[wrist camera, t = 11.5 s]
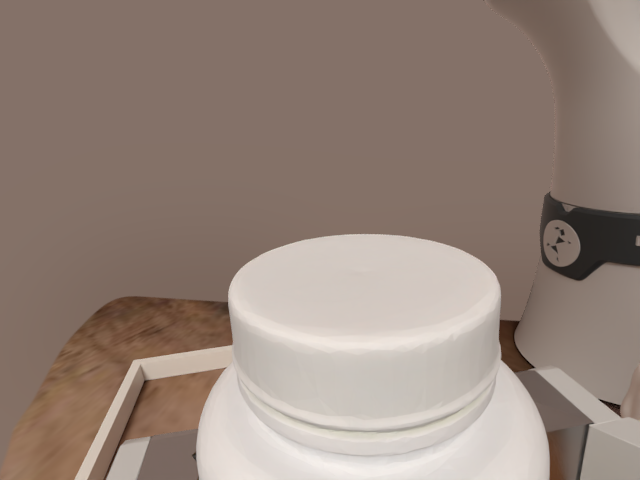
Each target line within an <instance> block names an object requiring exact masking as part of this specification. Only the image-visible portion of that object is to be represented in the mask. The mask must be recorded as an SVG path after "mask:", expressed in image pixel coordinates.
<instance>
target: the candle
mask: <svg viewBox="0 0 640 480" xmlns="http://www.w3.org/2000/svg"><path fill="white" fill-rule="evenodd" d="M620 414H621V418H627V417H630V418H633V419H635V420H638V421H640V364H639V365H638V366H637V367H636V369H635V371H634V373H633V376H632V380H631V384H630V388H629V390H628V392H627V394H626V396H625V397H624V399H623V401H622V404H621V407H620Z"/></svg>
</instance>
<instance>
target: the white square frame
mask: <svg viewBox="0 0 640 480" xmlns="http://www.w3.org/2000/svg"><path fill="white" fill-rule="evenodd" d="M232 361H233V359H232V345H231V346H224V347H218V348H211V349H205V350H198V351H191V352H185V353H178V354H172V355H165V356H159V357H152V358H146V359H139V360H134V361H133V363H132V365H131V367H130V369H129V371H128V373H127V375H126V377H125V379H124V381H123V383H122V385H121V387H120V389H119V391H118V393H117V395H116V397H115V399H114V401H113V403H112V405H111V407H110V409H109V411H108V413H107V415H106V417H105V419H104V421H103V423H102V425H101V427H100V429H99V431H98V433H97V435H96V437H95V439H94V441H93V443H92V445H91V447H90V449H89V452H88V454H87V456H86V458H85V460H84V462H83V464H82V466H81V468H80V470H79V472H78V474H77V476H76V478H75V480H104V477H105V475H106V472H107V470H108V468H109V465H110V463H111V460H112V458H113V455H114V453H115V451H116V448H117V446H118V443H119V441H120V439H121V436H122V434H123V431H124V429H125V427H126V424H127V422H128V419H129V417H130V415H131V412H132V410H133V407H134V405H135V402H136V400H137V398H138V395H139V393H140V390H141V388H142V386H143V383H144V381H146V380H152V379H158V378H164V377H171V376H177V375H183V374H189V373H196V372H202V371H208V370H214V369H221V368H227V367H228V366H229V365H230V364H231V362H232Z"/></svg>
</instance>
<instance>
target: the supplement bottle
mask: <svg viewBox="0 0 640 480" xmlns="http://www.w3.org/2000/svg"><path fill="white" fill-rule="evenodd" d="M228 305H229V312H230V320H231V327H232V336H233V345H232V359H233V361H232V362H231V364H230V365H229V366H228V367H227V368H226V369H225V370H224V371H223V373H222V374H221V376H220V377H219V379H218V380H217V382H216V383H215V385H214V386H213V388H212V390H211V392H210V394H209V396H208V399H207V401H206V403H205V405H204V408H203V412H202V415H201V418H200V423H199V428H198V435H197V443H196V460H197V468H198V475H199V480H549V478H550V455H549V443H548V439H547V435H546V431H545V427H544V424H543V421H542V419H541V416H540V414H539V412H538V409H537V407H536V405H535V403H534V401H533V400H532V398H531V396H530V394H529V393H528V391H527V390H526V388H525V387H524V385H523V384H522V382H521V381H520V380H519V378H518V377H517V376H516V375H515V374H514V373H513V372H512V370H511V369H510V368H509V367H508V366H507V365H506V364H505V363H504V362H503V361H502V360H501V346H500V343H499V321H500V308H501V289H500V285H499V282H498V280H497V277H496V275H495V274H494V273H493V272H492V270H491V269H490V268H489V267H488V266H487V265H486V264H485V263H483V262H482V261H480V260H479V259H477V258H475V257H474V256H472V255H470V254H468V253H466V252H464V251H462V250H460V249H457V248H454V247H452V246H448V245H444V244H442V243H438V242H434V241H429V240H424V239H418V238H413V237H406V236H397V235H382V234H381V235H379V234H352V235H338V236H329V237H320V238H315V239H309V240H303V241H299V242H295V243H292V244H288V245H285V246H282V247H279V248H276V249H273V250H270V251H268V252H266V253H264V254H262V255H260V256H258V257H257V258H255V259H253V260H251V261H250V262H249V263H247V264H246V265H244V267H242V268H241V269H240V270H239V271H238V273H237V274H236V275H235V277H234V278H233V280H232V282H231V285H230V287H229V293H228Z"/></svg>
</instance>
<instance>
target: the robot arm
mask: <svg viewBox="0 0 640 480" xmlns="http://www.w3.org/2000/svg"><path fill="white" fill-rule="evenodd" d="M484 1H485V3H486V4H487V5H488V6H489V7H490V8H491V9H492V10H493V11H494V12H495V13H497V14H498V15H500V16H502V17H503V18H505V19H507V20H508V21H509V22H511V23H512V24H513V25H515V26H516V27H517V28H518V29H519V30H520V31H522V32H523V34H525V36H526V37H527V38H528V39H529V41H530V42H531V43H532V44H533V45H534V47H535V48H536V50H537V51H538V53H539V55H540V56H541V58H542V60H543V62H544V65H545V67H546V69H547V72H548V74H549V77H550V81H551V85H552V89H553V95H554V103H555V146H554V161H553V173H552V182H551V191H550V192H549V193H547V194H546V195H545V197H544V204H543V210H542V216H541V225H540V242H541V243H540V244H541V256H540V260H539V263H538V267H537V271H536V275H535V279H534V282H533V286H532V290H531V293H530V296H529V299H528V302H527V305H526V308H525V310H524V313H523V316H522V318H521V320H520V322H519V324H518V326H517V328H516V330H515V334H514V339H515V343H516V346H517V348H518V350H519V351H520V352H521V354H522V355H523V356H524V357H525V358H526V360H527V361H529V362H530V363H531V364H532V365H533V366H534V367H535V368H534V369H529V370H528V371H520V372H515V373H514V374H515V375H516V376H517V377H518V378H519V380H520V381H521V382H522V384H523V385H524V387H525V388H526V390H527V391H528V393H529V394H530V396H531V398H532V400H533V401H534V403H535V405H536V407H537V409H538V412H539V414H540V416H541V419H542V421H543V424H544V427H545V431H546V435H547V439H548V443H549V455H550V478H549V480H640V421H638V420H635V419H633V418H630V417H627V418H621V417H619V416H618V415H617V414H616V413H614V412H613V411H612V410H611V409H609V408H608V407H607V406H606V405H604V404H603V403H602V402H601V401H599V400H598V399H600V400H604V401H607V402H611V403H614V404H618V405H621V404H622V401H623V399H624V397H625V396H626V394H627V392H628V390H629V388H630V384H631V380H632V376H633V373H634V371H635V369H636V367H637V366H638V365H639V364H640V0H484ZM197 435H198V429H193V430H186V431H180V432H173V433H167V434H160V435H154V436H152V437H144V438H138V439H131V440H126V441H125V442H124V443H123V444H122V445H121V446H120V447H119V449H118V452H117V454H116V457H115V459H114V461H113V464H112V466H111V469H110V471H109V473H108V476H107V478H106V480H199V475H198V468H197V460H196V443H197Z"/></svg>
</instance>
